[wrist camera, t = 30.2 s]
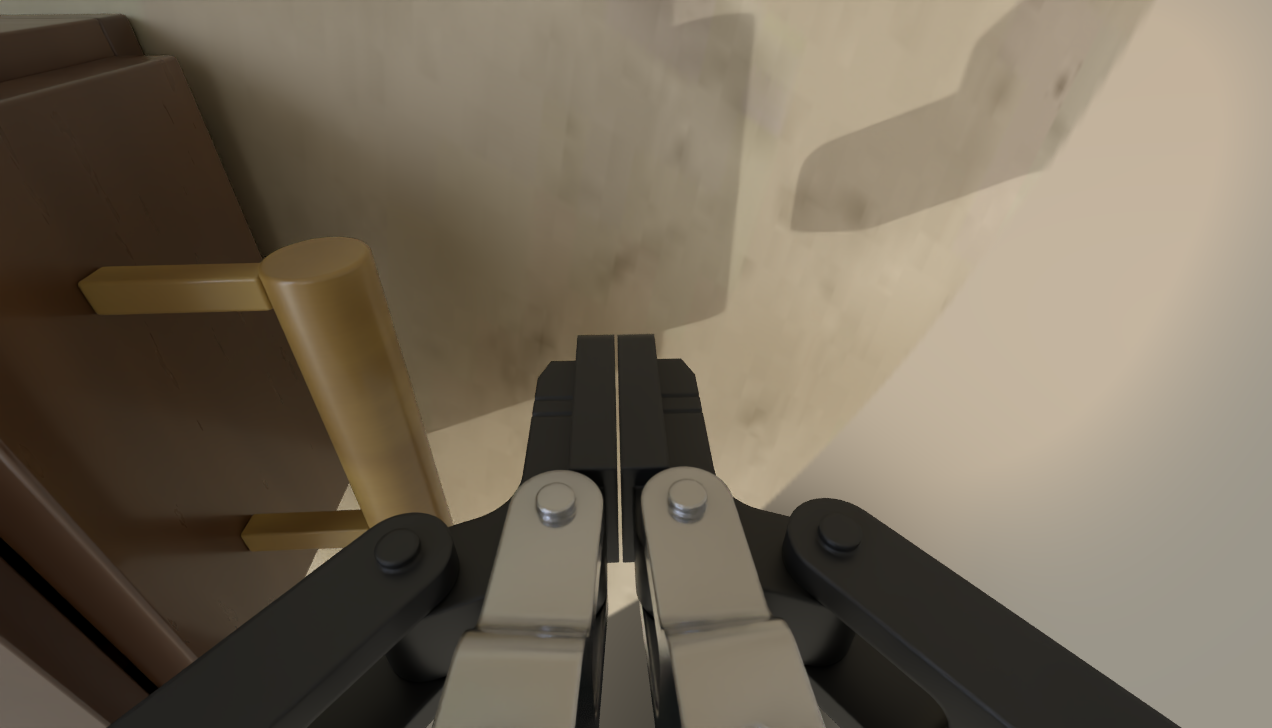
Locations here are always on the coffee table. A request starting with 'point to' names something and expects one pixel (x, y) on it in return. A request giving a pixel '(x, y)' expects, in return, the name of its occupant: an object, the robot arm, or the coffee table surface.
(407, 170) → the coffee table surface
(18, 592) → the cabinet
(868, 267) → the coffee table surface
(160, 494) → the drawer
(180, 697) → the robot arm
